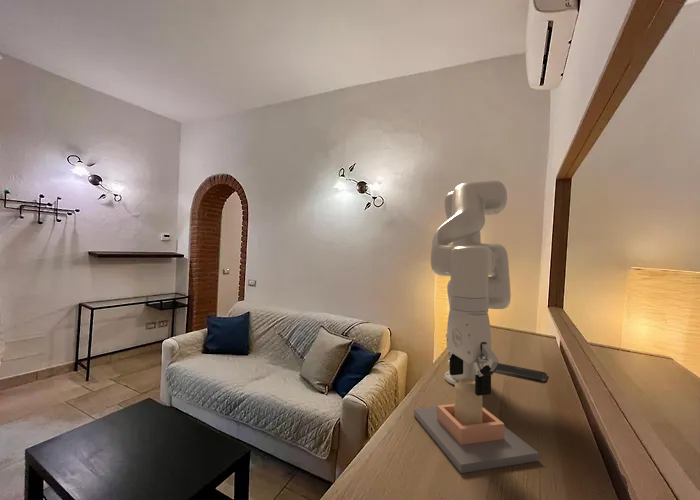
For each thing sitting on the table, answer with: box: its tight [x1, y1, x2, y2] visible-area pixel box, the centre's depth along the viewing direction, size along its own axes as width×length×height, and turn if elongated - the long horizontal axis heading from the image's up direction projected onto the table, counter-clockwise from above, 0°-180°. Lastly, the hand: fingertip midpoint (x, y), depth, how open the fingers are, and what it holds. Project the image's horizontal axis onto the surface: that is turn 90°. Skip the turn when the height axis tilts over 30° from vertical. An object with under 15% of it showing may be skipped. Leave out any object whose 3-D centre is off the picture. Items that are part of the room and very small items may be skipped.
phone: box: [494, 362, 548, 383], centre depth 102 cm, size 8×1×15 cm
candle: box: [454, 378, 483, 426], centre depth 67 cm, size 6×6×10 cm
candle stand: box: [413, 403, 540, 474], centre depth 67 cm, size 20×16×4 cm
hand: (468, 383), depth 68 cm, fingers open, 9 cm apart
